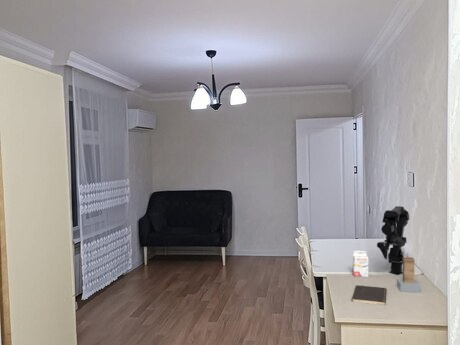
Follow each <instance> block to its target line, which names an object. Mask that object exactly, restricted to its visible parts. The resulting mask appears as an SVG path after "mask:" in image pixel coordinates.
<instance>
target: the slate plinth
mask: <svg viewBox="0 0 460 345" xmlns="http://www.w3.org/2000/svg"><path fill="white" fill-rule="evenodd" d="M396 287H397V289H398V290H399V292H401V293H421V284H420V282H418V280H417V279H414V283H404V282H403V278H400V279H399V278H397V279H396Z"/></svg>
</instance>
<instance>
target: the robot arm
mask: <svg viewBox="0 0 460 345" xmlns="http://www.w3.org/2000/svg"><path fill="white" fill-rule="evenodd" d="M409 220H410V213H409V211H408V210H406V209H405V207H404V206H402V205H401V206H399V205H397V206H395V207H394V208H392V209H387V210H385V211H384V213H383V218H382V223H384V225H382V226H381V233H382V234H384V236H385V239H384V241H379V242H377V243H376V247H377V248H378V249H379V250H380V253H382V255H383V258H384V259H385V260H388V263H389V264H390V271H388V273H389V274H393V275H403V257H405V255H404V252H403V251H402V247H404V246H405V245H406V244H407V237H406V236H404V230H405V228H406V226H407V225H408V223H409ZM390 246H392V247H390Z"/></svg>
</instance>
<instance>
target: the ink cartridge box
mask: <svg viewBox="0 0 460 345" xmlns="http://www.w3.org/2000/svg"><path fill="white" fill-rule="evenodd" d="M352 259H353V260H352V275H353V276H354V277H366V278H368V277H369V262H370V260H369V256H368V251H367V250H353V255H352Z"/></svg>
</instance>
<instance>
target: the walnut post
mask: <svg viewBox="0 0 460 345" xmlns="http://www.w3.org/2000/svg"><path fill="white" fill-rule="evenodd" d="M402 272H403V274H402V279H403V282H404V283H414V280H415V258H414V257H411V256H410V257H408V256H407V257H406V256H404V257H403V265H402Z"/></svg>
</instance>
